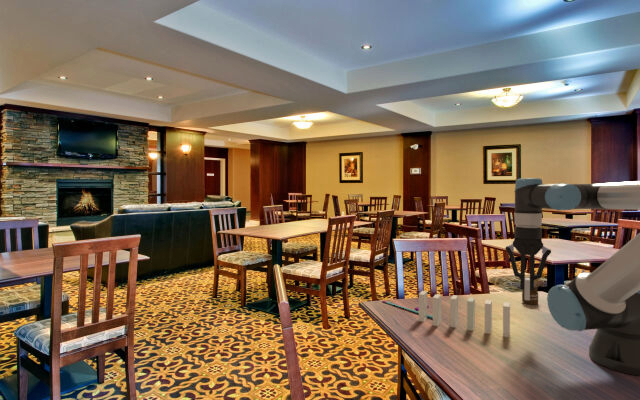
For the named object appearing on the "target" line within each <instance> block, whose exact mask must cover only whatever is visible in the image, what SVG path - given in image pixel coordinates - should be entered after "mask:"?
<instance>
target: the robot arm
mask: <svg viewBox="0 0 640 400" xmlns="http://www.w3.org/2000/svg"><path fill="white" fill-rule="evenodd" d="M544 209H545V210H556V211H571V210H634V211H635V210H639V211H640V180H634V181H619V182H604V183H603V182H601V183H599V182H598V183H565V182H564V183H561V182H560V183H559V182H558V183H545V184H544V183H543V180H542V179H541V178H540V177H539V178H538V177H535V178H534V177H531V178H529V177H526V178H525V177H524V178H523V177H522V178H518V179H516V180H515V188H514V225H516V226H515V227H514V238H513V239H514V240H513V241H512V243H511V244H509V245H505V248H504V249H505V251H506V252H507V253H508V256H509V260H510V263H511V267H512V271H513V275H514V276H515V277H516V278H519V281H520V284H519V285H520V286H519V287H520V289H521V290H524V300H529V301H530V290H534V286H535V279H538V280H540V279H541V278H542V277H543V276H542V275H543V271H544V269H545V266H546V262H547V259H548V257H549V256H550V255H551V254H552V250H551V248H548V247H546V246H544V243H543V241H542V238H543V237H542V232H543V231H542V230H543V228H542V227H541V226H542V225H543V210H544ZM514 248H515V249H516V251H517V253H519V255H520V272H519V270H518V266H517V262H516V258H515V254H514V251H515V249H514ZM540 251H541V253H542V255H541V259H540V262H539V265H538V268H537V272H536V274H535V256H536V255H537V254H538V253H539V252H540ZM526 256H529V277H526ZM525 277H526V278H525ZM546 295H547V297H546V301H547V307H548V311H549V313H550V315H551V316H552V318H553V320H554V321H555V322H556V323H557V325H558V326H560V327H561V328H564V329H566V330H568V331H572V332H573V331H577V332H583V331H587V330H589V331H590V330H596V331H595V333H594V335H593V338H592V339H591V342H590V344H589V346H588V357H589V358H590V359H591V360H592V361H594V362H595V363H597V364H599V365H600V366H602V367H605V368H608V369H610V370H612V371H616V372H620V373H624V374H627V375H632V376H633V375H634V376H640V232H639V233H637V234H636V235H635V236H634V237H632V239H630V240H628V242H627V243H626V244H624V245H623V246H622V247H620V249H618V250H617V251H616V252H615V253H613V255H611V256H610V257H609V258H608V259H606V260H605V261H604V262H602V263H601V264H600V265H599V266H598V267H597V268H595V270H593V271H591V272H589V271H588V272H581V273H579V274H578V275H576V276H575V278H573V279H572V280H571V281H570V282H568V283H567V284H557V285H554V286H552V287H551V288H550V289H549V290H548V292H547V294H546Z"/></svg>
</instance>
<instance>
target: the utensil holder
mask: <svg viewBox="0 0 640 400" xmlns="http://www.w3.org/2000/svg"><path fill="white" fill-rule="evenodd" d="M525 278H527V276H525ZM538 281H539V279H535V280H534V290H530V301H529V300H524V289H522V291H521V293H522V294H521V301H522V303H523V304H524V305H525V304H526V305H530V306H531V305H532V306H533V305H534V306H537V305H539V292H538V287H537V284H538Z"/></svg>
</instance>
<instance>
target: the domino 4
mask: <svg viewBox="0 0 640 400" xmlns="http://www.w3.org/2000/svg"><path fill="white" fill-rule="evenodd" d="M475 299H476V298H475V297H470V296H469V297H468V298H467V301H466V303H467V304H466V305H467V306H466V315H467V316H466V330H467V331H474V328H475V321H476V320H475V316H476V315H475V310H476V309H475V308H476V307H475V306H476V305H475V304H476V302H475V301H476V300H475Z"/></svg>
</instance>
